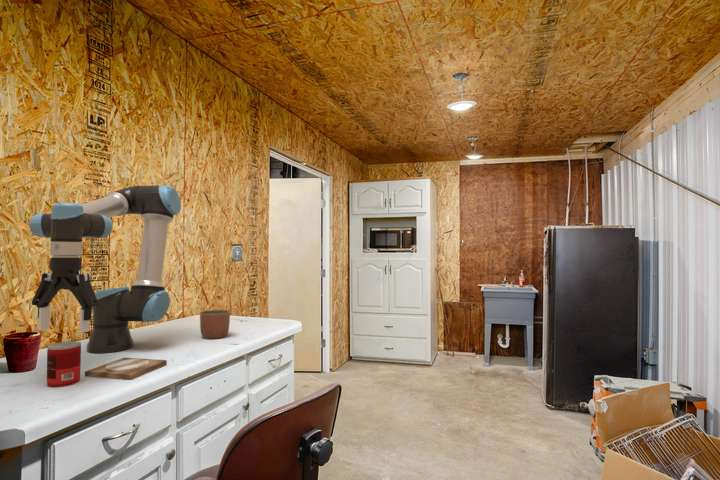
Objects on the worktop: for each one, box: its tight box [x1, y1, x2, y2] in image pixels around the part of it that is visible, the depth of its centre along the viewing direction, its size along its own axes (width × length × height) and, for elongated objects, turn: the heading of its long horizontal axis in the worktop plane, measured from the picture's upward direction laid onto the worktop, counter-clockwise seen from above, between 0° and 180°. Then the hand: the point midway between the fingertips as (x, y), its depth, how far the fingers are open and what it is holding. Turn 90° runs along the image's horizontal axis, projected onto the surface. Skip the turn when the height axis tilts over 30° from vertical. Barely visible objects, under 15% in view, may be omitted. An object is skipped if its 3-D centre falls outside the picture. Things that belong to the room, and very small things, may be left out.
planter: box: [199, 309, 231, 340], centre depth 178 cm, size 12×12×11 cm
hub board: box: [84, 357, 168, 381], centre depth 129 cm, size 16×16×2 cm
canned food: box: [46, 340, 82, 388], centre depth 117 cm, size 8×8×11 cm
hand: (64, 331), depth 117 cm, fingers open, 13 cm apart
